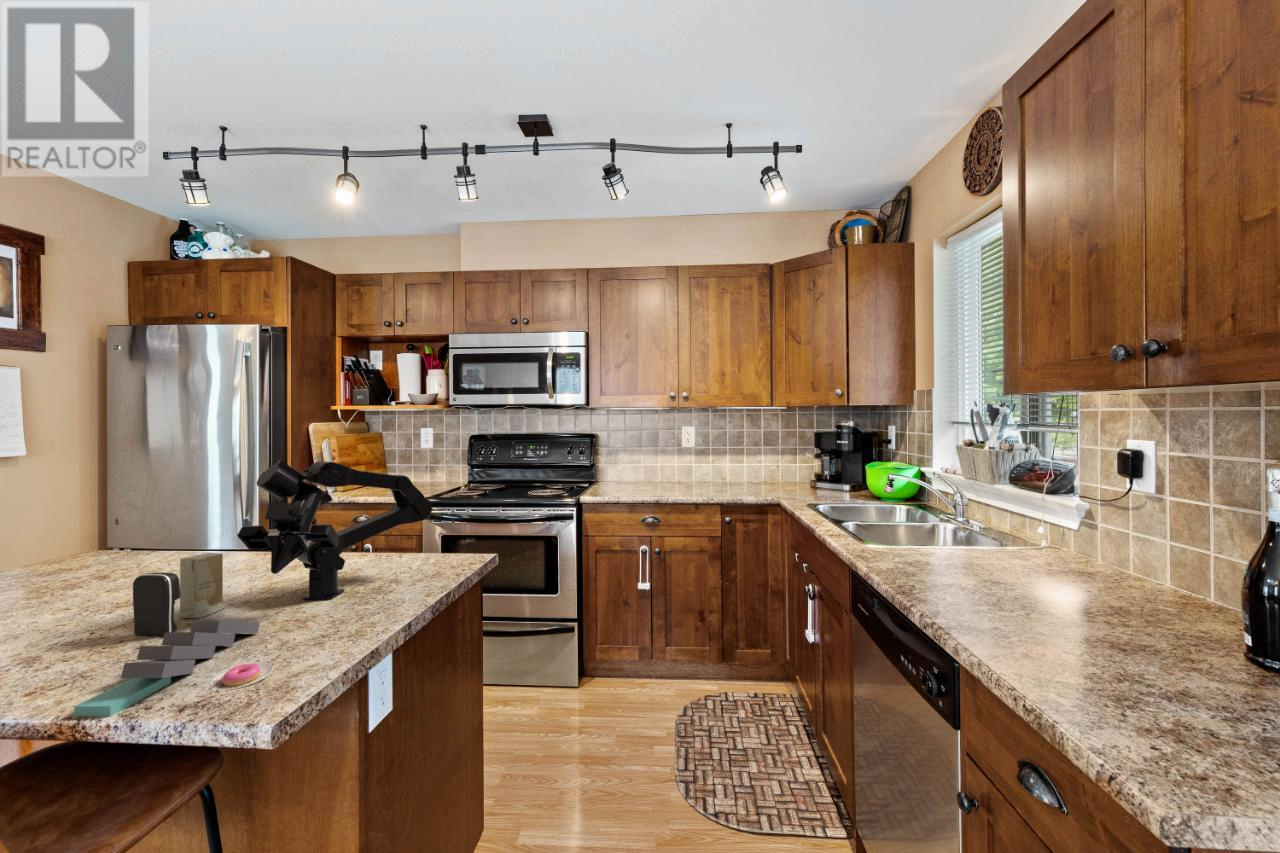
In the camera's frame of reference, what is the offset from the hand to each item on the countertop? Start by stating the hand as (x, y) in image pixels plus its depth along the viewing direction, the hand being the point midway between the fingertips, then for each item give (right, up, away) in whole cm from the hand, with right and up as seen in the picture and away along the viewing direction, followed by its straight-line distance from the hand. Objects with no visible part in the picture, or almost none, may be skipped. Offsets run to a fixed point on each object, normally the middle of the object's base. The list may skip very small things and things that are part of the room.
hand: (273, 572), depth 118 cm
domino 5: (0, -9, -8) cm, 11 cm away
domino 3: (-1, -9, -19) cm, 21 cm away
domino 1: (0, -9, -29) cm, 30 cm away
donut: (+12, -10, -26) cm, 30 cm away
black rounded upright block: (-18, -10, -7) cm, 21 cm away
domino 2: (0, -9, -26) cm, 27 cm away
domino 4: (-1, -9, -14) cm, 16 cm away
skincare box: (-17, -10, +4) cm, 20 cm away
